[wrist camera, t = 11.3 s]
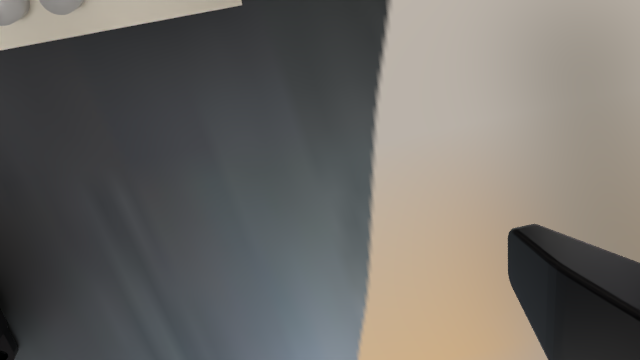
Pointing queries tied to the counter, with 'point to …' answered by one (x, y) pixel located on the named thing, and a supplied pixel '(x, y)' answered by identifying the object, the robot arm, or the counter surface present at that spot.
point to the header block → (88, 17)
